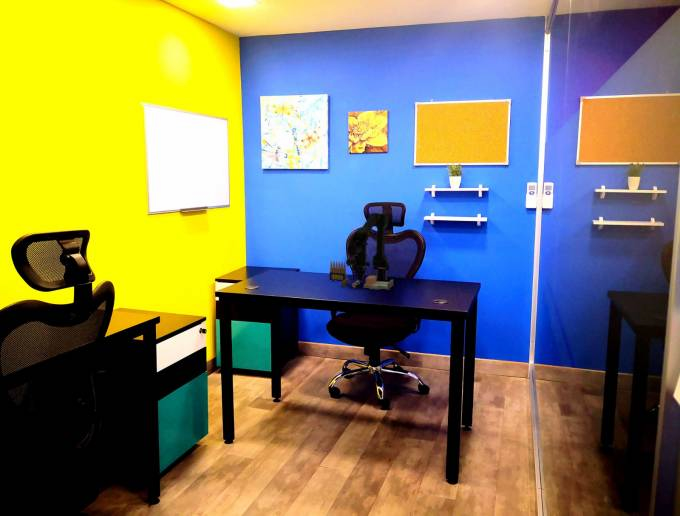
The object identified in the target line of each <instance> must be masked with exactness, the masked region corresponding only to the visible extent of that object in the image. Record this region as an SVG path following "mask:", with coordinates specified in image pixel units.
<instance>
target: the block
mask: <svg viewBox="0 0 680 516" xmlns="http://www.w3.org/2000/svg"><path fill="white" fill-rule="evenodd" d="M376 278H377V275H368V276H366V278H365V283H366V285H373V284H375V283H376V281H377V280H376Z"/></svg>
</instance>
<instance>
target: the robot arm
mask: <svg viewBox="0 0 680 516" xmlns="http://www.w3.org/2000/svg"><path fill="white" fill-rule="evenodd" d="M389 221H390V216H389V214H387V213H378V212H371V213H369V216H368V218H367V219H366V221H365V222H364V224H363V225H362V226H361V227H359V228H358V229H357V230H355V232H354V234H353V237H352V239H351V242H350V245H349V246H347V249H346V250H347V254H348V255H350V256H354V257H353V258H350V257H348V258H346V260H345V264H346V266H347V267H349V266H351V265H352V267H351V271H355V272H357V275H358V279H359V280H360V282H362V281H363V279H364V277H365V274H366V272H367V270H368V267H370V265H371V263H370V262H369V261H368V260H367V258H368V254H367V246H368V244H369V243H368V242H367V241H368V240H369V238H370V232H371V231H372V229H373V227H374V226H375V227H376V253H375V254H374V255H373V256H372V267H373V270H376V276H377V277H376V281H387V280H388V277H387V271H390V268H391V266H390V263H389V262H388V257H387V254H386V252H385V251H386V247H385V246H386V228H387V227H388V225H389V223H390V222H389Z"/></svg>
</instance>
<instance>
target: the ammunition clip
mask: <svg viewBox="0 0 680 516" xmlns="http://www.w3.org/2000/svg"><path fill="white" fill-rule="evenodd" d="M346 266H347V264H346V261H336V260H335V261H332V260H330V266H329V278H328V279H329V280H337V281H336V282H338V281H344V280H345V279H347V267H346ZM329 280H328V281H329Z"/></svg>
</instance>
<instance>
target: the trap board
mask: <svg viewBox="0 0 680 516" xmlns="http://www.w3.org/2000/svg"><path fill="white" fill-rule="evenodd" d="M348 283H349V284H350V278H347V277H346V279H345V280H344V281H342V282H341V288H345V287H346V286H347V285H349V284H348ZM360 283H361V281H360V280H358V279H357V280H356V281H354V282H353V283H352V284H351V288H352V287H354V288H353V289H355V288H357V287H358V286H359V285H361V284H360ZM346 284H347V285H346ZM358 284H359V285H358ZM345 285H346V286H345ZM357 285H358V286H357ZM344 286H345V287H344ZM356 286H357V287H356ZM392 286H393V287H394V279H390V280H389V281H381V280H376V283H375V284H373V285H366V282H365V283H364V284H363V288H369V289H368V290H381V289H386V290H385V291H390V290H391V289H392V288H391V287H392ZM390 288H391V289H390Z"/></svg>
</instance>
